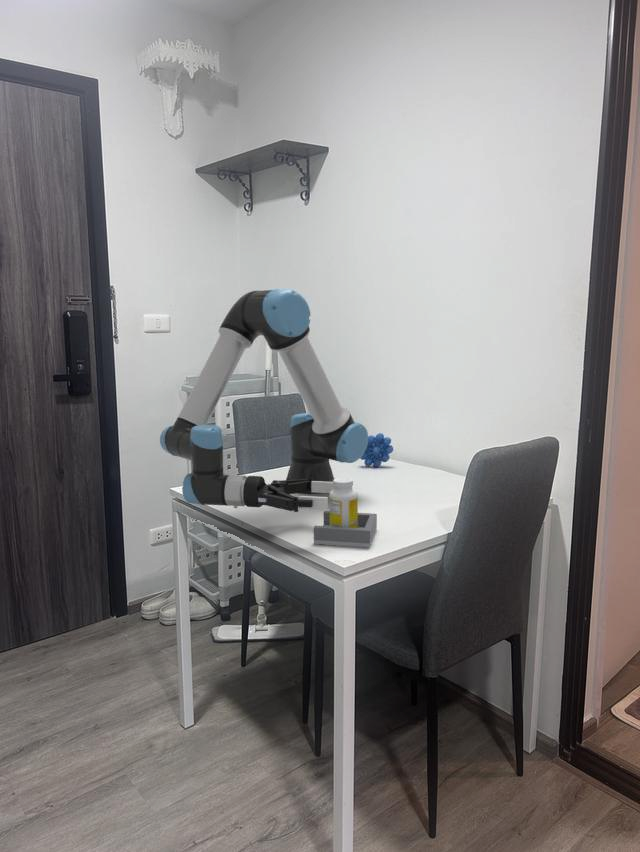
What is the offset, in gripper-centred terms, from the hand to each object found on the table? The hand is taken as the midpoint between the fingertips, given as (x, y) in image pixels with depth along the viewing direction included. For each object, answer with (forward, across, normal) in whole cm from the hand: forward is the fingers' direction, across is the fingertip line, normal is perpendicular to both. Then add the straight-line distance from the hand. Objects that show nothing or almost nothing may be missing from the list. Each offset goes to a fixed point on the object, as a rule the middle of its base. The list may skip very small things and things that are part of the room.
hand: (333, 495), depth 152 cm
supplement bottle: (+2, 0, -9) cm, 10 cm away
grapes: (+2, -74, -10) cm, 74 cm away
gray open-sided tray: (+3, 0, -10) cm, 10 cm away
